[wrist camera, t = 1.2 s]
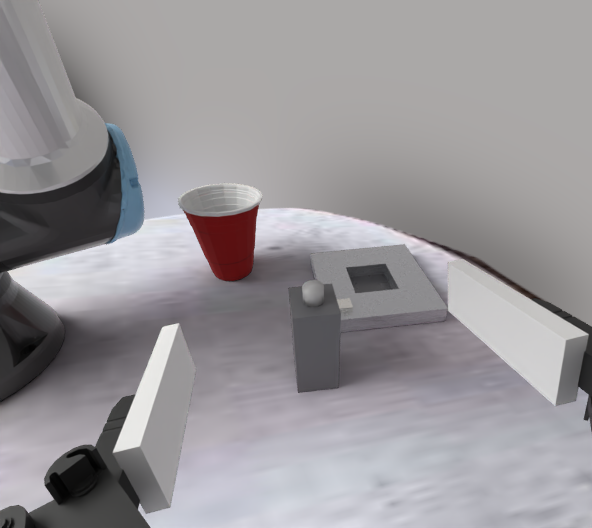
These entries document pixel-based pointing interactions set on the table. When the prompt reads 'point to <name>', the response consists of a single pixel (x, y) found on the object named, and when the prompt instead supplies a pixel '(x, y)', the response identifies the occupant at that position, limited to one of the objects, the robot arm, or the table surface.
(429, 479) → the table surface
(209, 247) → the plastic cup
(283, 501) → the table surface
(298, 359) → the plug
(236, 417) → the table surface
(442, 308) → the socket
